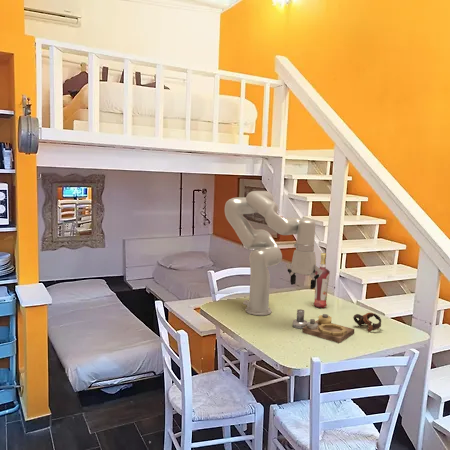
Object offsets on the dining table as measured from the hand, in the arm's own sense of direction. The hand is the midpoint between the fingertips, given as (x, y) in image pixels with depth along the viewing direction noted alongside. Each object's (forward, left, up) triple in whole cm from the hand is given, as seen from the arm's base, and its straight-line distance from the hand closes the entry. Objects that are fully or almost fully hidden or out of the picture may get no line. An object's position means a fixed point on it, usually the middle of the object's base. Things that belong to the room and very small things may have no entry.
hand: (302, 286), depth 193 cm
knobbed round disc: (0, 0, -18) cm, 18 cm away
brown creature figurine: (+23, +19, -19) cm, 35 cm away
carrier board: (+13, +1, -18) cm, 22 cm away
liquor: (-7, +34, -18) cm, 39 cm away
